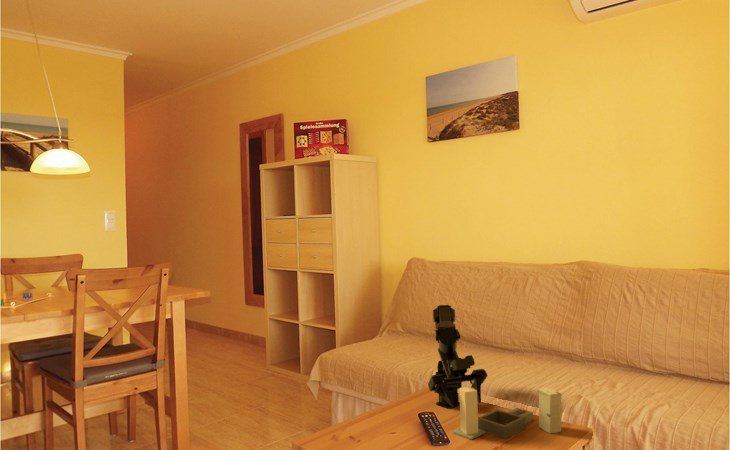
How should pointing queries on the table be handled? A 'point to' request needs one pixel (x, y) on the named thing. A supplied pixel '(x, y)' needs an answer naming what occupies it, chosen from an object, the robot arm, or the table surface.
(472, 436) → the rubber mat
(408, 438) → the table surface
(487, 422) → the grey green open tray
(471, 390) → the cream rectangular block
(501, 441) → the table surface
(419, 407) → the table surface
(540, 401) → the skincare box
